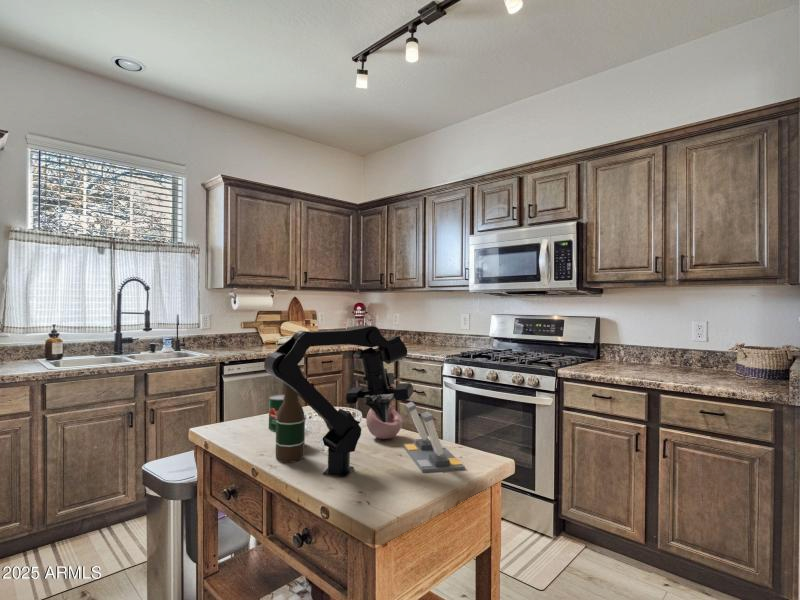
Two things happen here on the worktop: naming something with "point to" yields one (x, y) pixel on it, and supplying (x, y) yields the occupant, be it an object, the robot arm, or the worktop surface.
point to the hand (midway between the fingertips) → (385, 421)
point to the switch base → (426, 457)
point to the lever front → (432, 433)
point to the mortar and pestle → (384, 424)
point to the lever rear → (417, 421)
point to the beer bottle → (290, 428)
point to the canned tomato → (274, 410)
